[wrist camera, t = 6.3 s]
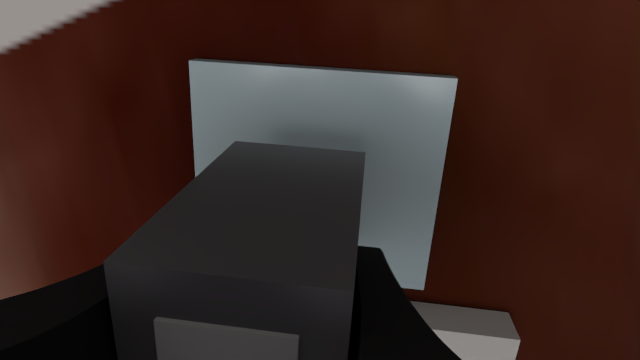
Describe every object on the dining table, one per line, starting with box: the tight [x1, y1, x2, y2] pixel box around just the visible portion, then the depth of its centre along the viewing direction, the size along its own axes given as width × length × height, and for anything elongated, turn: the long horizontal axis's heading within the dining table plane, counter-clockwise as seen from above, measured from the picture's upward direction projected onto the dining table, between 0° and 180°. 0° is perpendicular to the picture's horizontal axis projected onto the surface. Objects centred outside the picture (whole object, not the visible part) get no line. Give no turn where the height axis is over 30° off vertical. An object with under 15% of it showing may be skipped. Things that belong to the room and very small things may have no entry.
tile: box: [189, 59, 458, 290], centre depth 18 cm, size 10×9×1 cm
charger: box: [103, 141, 366, 360], centre depth 11 cm, size 4×6×7 cm
